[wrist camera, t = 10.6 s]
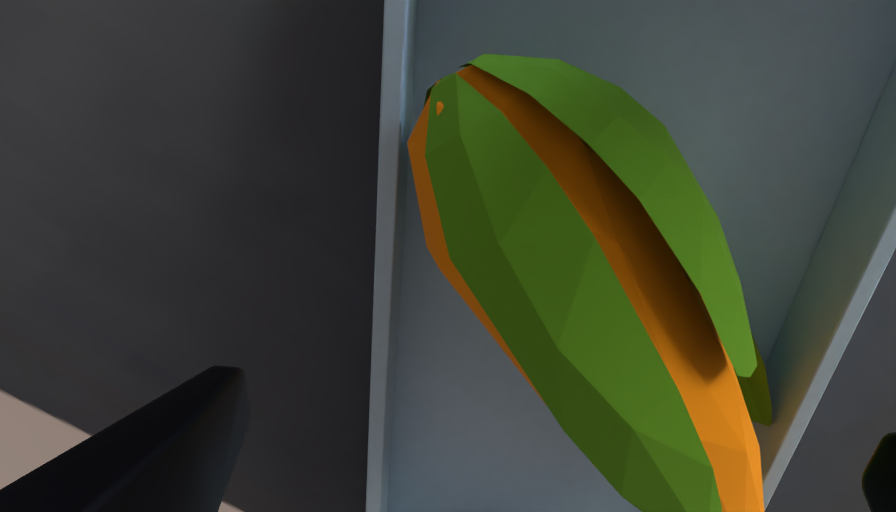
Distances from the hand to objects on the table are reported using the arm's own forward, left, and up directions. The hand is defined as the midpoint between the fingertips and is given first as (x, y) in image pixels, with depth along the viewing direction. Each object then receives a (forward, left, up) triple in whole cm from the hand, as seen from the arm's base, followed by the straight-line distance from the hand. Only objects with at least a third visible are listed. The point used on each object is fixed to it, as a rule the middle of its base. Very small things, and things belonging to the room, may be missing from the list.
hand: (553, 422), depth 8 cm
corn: (-4, +4, -12) cm, 13 cm away
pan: (-3, +5, -12) cm, 14 cm away
